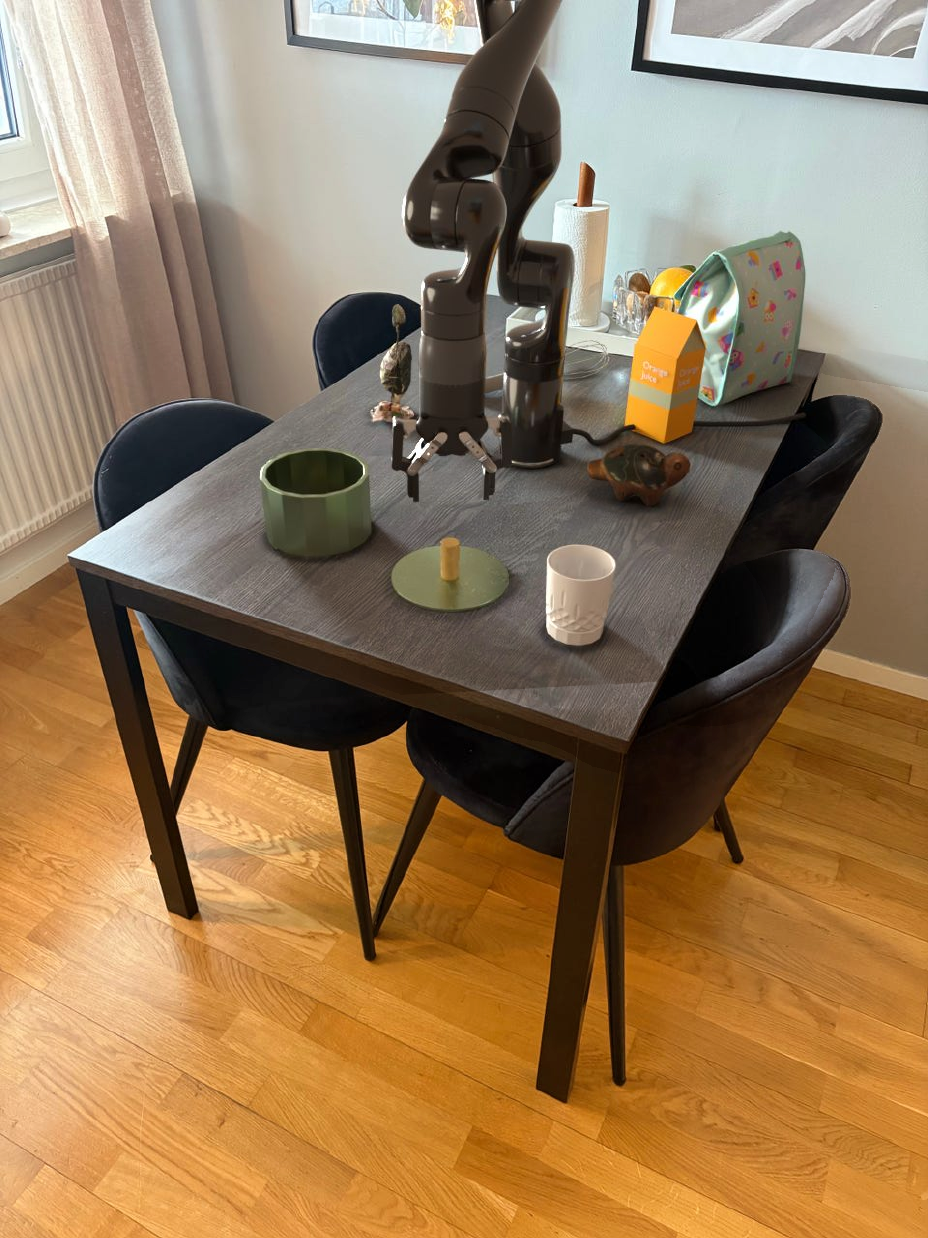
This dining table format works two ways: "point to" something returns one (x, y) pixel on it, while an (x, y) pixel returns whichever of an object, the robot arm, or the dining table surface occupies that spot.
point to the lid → (450, 578)
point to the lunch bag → (747, 315)
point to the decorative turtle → (639, 471)
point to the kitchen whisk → (497, 380)
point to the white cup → (578, 593)
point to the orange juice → (665, 376)
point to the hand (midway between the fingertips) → (450, 498)
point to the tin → (316, 502)
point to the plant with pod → (395, 375)
